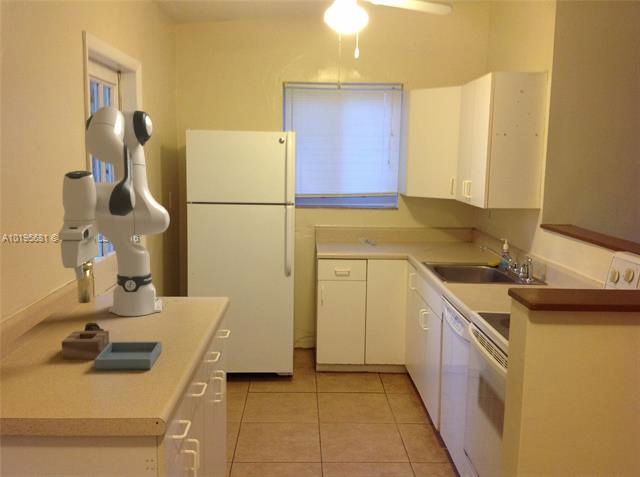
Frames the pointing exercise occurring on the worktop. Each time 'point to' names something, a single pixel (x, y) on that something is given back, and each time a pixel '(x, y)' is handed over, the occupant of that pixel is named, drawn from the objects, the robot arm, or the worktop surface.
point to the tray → (128, 356)
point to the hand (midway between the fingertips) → (83, 277)
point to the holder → (84, 344)
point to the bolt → (92, 327)
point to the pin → (84, 285)
